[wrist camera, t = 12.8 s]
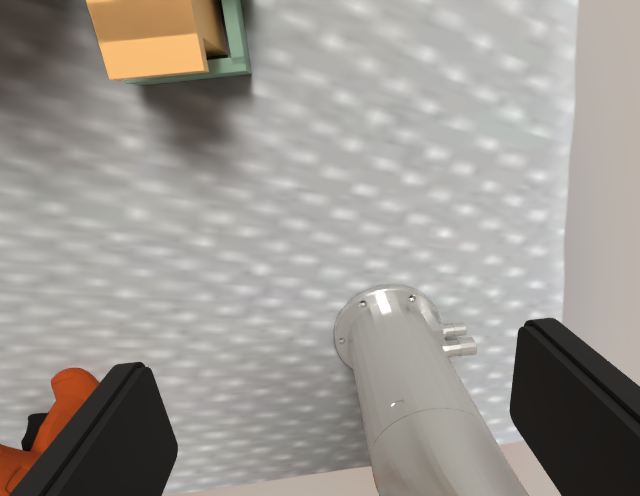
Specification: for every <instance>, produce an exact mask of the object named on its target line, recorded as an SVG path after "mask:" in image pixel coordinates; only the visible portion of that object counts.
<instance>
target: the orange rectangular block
mask: <svg viewBox="0 0 640 496" xmlns="http://www.w3.org/2000/svg"><path fill="white" fill-rule="evenodd" d="M86 2H87V6H88V9H89V12H90V16H91V19H92V22H93V26H94V29H95V33H96V36H97V39H98V43H99V46H100V49H101V53H102V56H103V60H104V63H105V66H106V70H107V73H108V76H109V79H110V80H117V81H122V80H132V79H143V78H153V77H164V76H174V75H185V74H195V73H206V72H209V69H208V64H207V58H206V56H217V55H227V54H228V53H227V47H226V41H225V36H224V30H223V24H222V18H221V12H220V6H219V0H86Z"/></svg>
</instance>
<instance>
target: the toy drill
mask: <svg viewBox="0 0 640 496" xmlns="http://www.w3.org/2000/svg"><path fill="white" fill-rule="evenodd" d="M51 385H52V389H53V391H54V395H55V398H56V402H55V403H54V405H53V406H52V408H51V409H50V411H49V412H48V413H37V414H32V415H30V416H28V427H27V431H26V434H25V436H24V438H23V440H22V441H21V443H22V448H23V450H19V449H15V448H11V447H7V446H4V445H1V444H0V496H9V494H10V493H11V492H12V491H13V489H14V488H15V487H16V486H17V484H18V483H19V482H20V481H21V480H22V478H23V477H24V476H25V475H26V473H27V472H28V471H29V470H30V468H31V467H32V466H33V465H34V464H35V462H36V461H37V460H38V459H39V457H40V456H41V455H42V454H43V452H44V451H45V450H46V449H47V448H48V446H49V445H50V444H51V443H52V441H53V440H54V439H55V438H56V437H57V435H58V434H59V433H60V432H61V430H62V429H63V428H64V427H65V425H66V424H67V423H68V422H69V421H70V419H71V418H72V417H73V416H74V414H75V413H76V412H77V411H78V409H79V408H80V407H81V406H82V405H83V403H84V402H85V401H86V400H87V398H88V397H89V396H90V395H91V393H92V392H93V391H94V390H95V389H96V387H97V386H98V385H99V383H98V381H97V380H96V379H95V378H94V377H93V376H92V375H91V374H90V373H89V372H87V371H85V370H83V369H80V368H69V369H65V370H63V371H61V372H59V373H58V374H57V375H56V376H55V377H53V378H52V380H51Z"/></svg>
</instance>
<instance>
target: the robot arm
mask: <svg viewBox="0 0 640 496" xmlns="http://www.w3.org/2000/svg"><path fill="white" fill-rule="evenodd" d="M462 335H466V326H465V324H464V323H455V324H451V325H443V324H442V323H441V319H440V317H439V314H438V311H437V310H436V308H435V307H434V305H433V304H432V302H431V301H430V300H429V299H428V298H427V297H426V296H424V295H423V294H422V293H420V292H419V291H416V290H414V289H412V288H409V287H405V286H399V285H386V286H379V287H375V288H372V289H369V290H367V291H364V292H362V293H360V294H359V295H357V296H356V297H354V298H353V299H352V300H351V301H350V302H348V303H347V304H346V305H345V306H344V308H343V309H342V311H341V312H340V314H339V316H338V318H337V320H336V323H335V329H334V340H335V345H336V349H337V351H338V354H339V356H340V357H341V359H342V360H343V361H344V362H345V363H346V364H347V365H348V366H349V367H350V368H352V369H353V370H354V375H355V381H356V386H357V391H358V397H359V402H360V407H361V413H362V418H363V423H364V429H365V434H366V439H367V445H368V450H369V455H370V460H371V466H372V471H373V477H374V481H375V484H376V488H377V491H378V493H379V496H529V495H528V493H527V492H526V490H525V489H524V487H523V485H522V484H521V482H520V481H519V479H518V478H517V476H516V474H515V473H514V471H513V469H512V468H511V466H510V464H509V463H508V461H507V459H506V458H505V456H504V454H503V452H502V451H501V449H500V447H499V445H498V444H497V442H496V440H495V439H494V437H493V435H492V433H491V432H490V430H489V428H488V426H487V425H486V423H485V421H484V419H483V418H482V416H481V414H480V412H479V411H478V409H477V407H476V405H475V404H474V402H473V400H472V398H471V397H470V395H469V393H468V391H467V390H466V388H465V386H464V384H463V383H462V381H461V379H460V377H459V376H458V374H457V372H456V370H455V369H454V367H453V365H452V364H451V362H450V360H449V356H457V355H458V356H467V355H475V354H476V351H477V349H476V344H475V341H474V339H473V338H472V337H470V338H461V339H455V340H449V341H446V340H445V338H446V337H447V336H462ZM510 415H511V419H512V421H513V423H514V425H515V427H516V428H517V430H518V431H519V433H520V434H521V436H522V437H523V439H524V440H525V441H526V443H527V444H528V446H529V447H530V449H531V450H532V452H533V453H534V455H535V456H536V458H537V459H538V461H539V462H540V464H541V465H542V467H543V468H544V470H545V471H546V473H547V474H548V476H549V477H550V479H551V480H552V482H553V483H554V485H555V486H556V487H557V489H558V490H559V492H560V494H561V495H562V496H640V386H638V385H637V384H636V383H635V382H633V381H632V380H631V379H630V378H628V377H627V376H626V375H625V374H623V373H622V372H621V371H620V370H618V369H617V368H616V367H615V366H613V365H612V364H611V363H610V362H609V361H607V360H606V359H605V358H604V357H602V356H601V355H600V354H599V353H597V352H596V351H594V349H592V348H591V347H590V346H588V345H587V344H586V343H585V342H584V341H582V340H581V339H580V338H579V337H577V336H576V335H575V334H574V333H572V332H571V331H570V330H569V329H568V328H566V327H565V326H564V325H563V324H561V323H560V322H559V321H558V320H556V319H554V318H545V319H535V320H528V321H526V323H525V324H524V327H521V328H520V329H519V331H518V338H517V347H516V356H515V365H514V374H513V383H512V392H511V401H510ZM177 452H178V445H177V441H176V438H175V435H174V433H173V430H172V427H171V424H170V421H169V418H168V416H167V413H166V410H165V407H164V404H163V401H162V398H161V396H160V393H159V390H158V387H157V384H156V381H155V378H154V376H153V373H152V370H151V369H150V368H149V367H145V365H144V364H143V363H142V362H134V363H124V364H117V365H115V366H114V367H113V368H112V369H111V370H110V371H109V373H108V374H107V375H106V376H105V377H104V379H103V380H102V381H101V382H100V384H99V385H98V386H97V387H96V389H95V390H94V391H93V392H92V393H91V395H90V396H89V397H88V398H87V400H86V401H85V402H84V403H83V405H82V406H81V407H80V408H79V409H78V411H77V412H76V413H75V414H74V416H73V417H72V418H71V419H70V421H69V422H68V423H67V424H66V425H65V427H64V428H63V429H62V430H61V432H60V433H59V434H58V435H57V437H56V438H55V439H54V440H53V441H52V443H51V444H50V445H49V446H48V448H47V449H46V450H45V451H44V452H43V454H42V455H41V456H40V457H39V459H38V460H37V461H36V462H35V464H34V465H33V466H32V467H31V468H30V470H29V471H28V472H27V473H26V475H25V476H24V477H23V478H22V480H21V481H20V482H19V483H18V484H17V486H16V487H15V488H14V489H13V491H12V492H11V493H10V494H9V496H161V495H162V493H163V490H164V488H165V486H166V483H167V481H168V478H169V476H170V473H171V471H172V468H173V466H174V463H175V461H176V458H177Z"/></svg>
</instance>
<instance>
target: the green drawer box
mask: <svg viewBox="0 0 640 496" xmlns="http://www.w3.org/2000/svg"><path fill="white" fill-rule="evenodd" d="M221 1H222V7H223V13H224V18H225V24H226V30H227V36H228V41H229V47H230V53H231V58H223V59H213V60H207V64H208V69H209V72H206V73H195V74H185V75H174V76H164V77H153V78H143V79H132V80H125V83H127V84H135V85H151V84H160V83H170V82H180V81H189V80H199V79H208V78H218V77H227V76H237V75H247V74H252V72H251V66H250V59H249V53H248V46H247V40H246V34H245V27H244V21H243V14H242V8H241V2H240V0H221Z"/></svg>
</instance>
